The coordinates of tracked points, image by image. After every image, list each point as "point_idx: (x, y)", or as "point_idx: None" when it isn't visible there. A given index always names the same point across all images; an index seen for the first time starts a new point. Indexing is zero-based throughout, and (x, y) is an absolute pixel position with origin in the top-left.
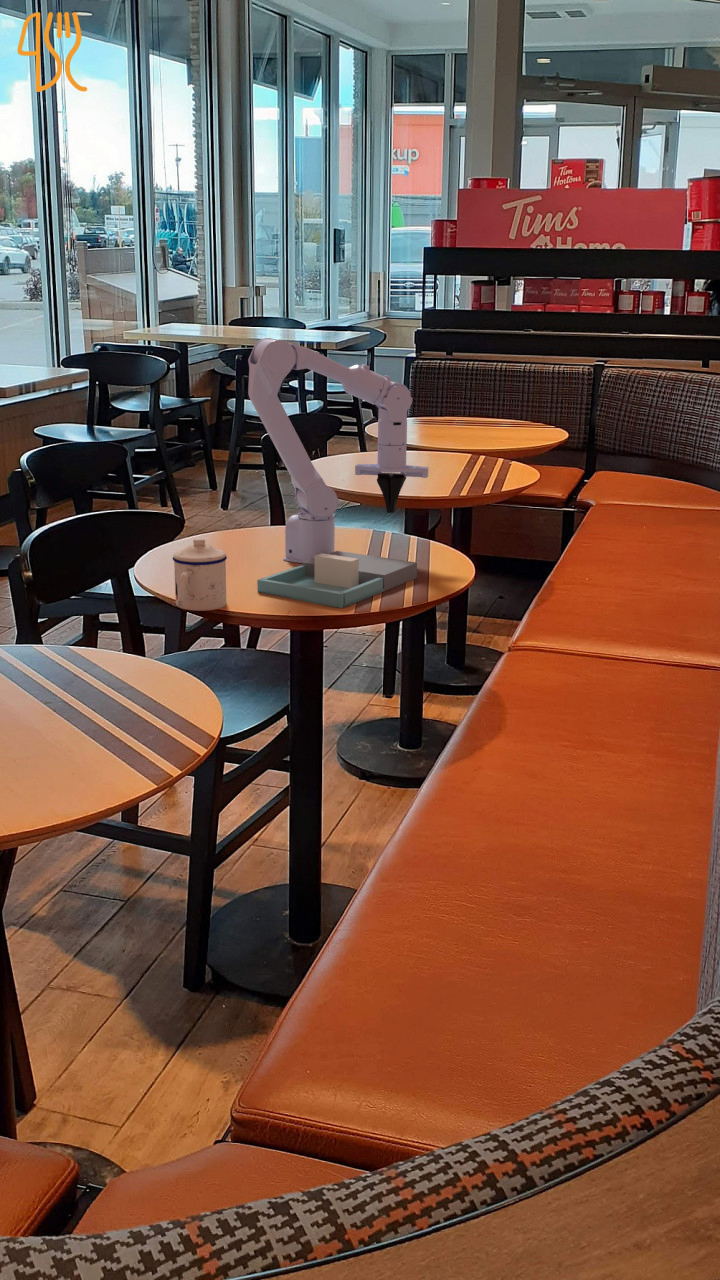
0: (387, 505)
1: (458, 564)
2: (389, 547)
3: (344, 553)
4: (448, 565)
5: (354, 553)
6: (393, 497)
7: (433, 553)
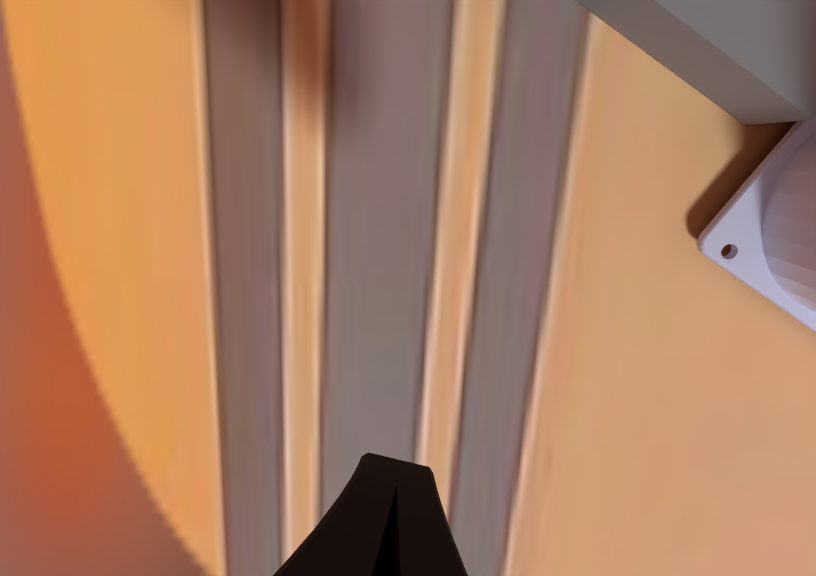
0: (425, 507)
1: (57, 179)
2: None
3: (776, 20)
4: (105, 154)
5: (697, 20)
6: (324, 568)
7: (200, 415)
